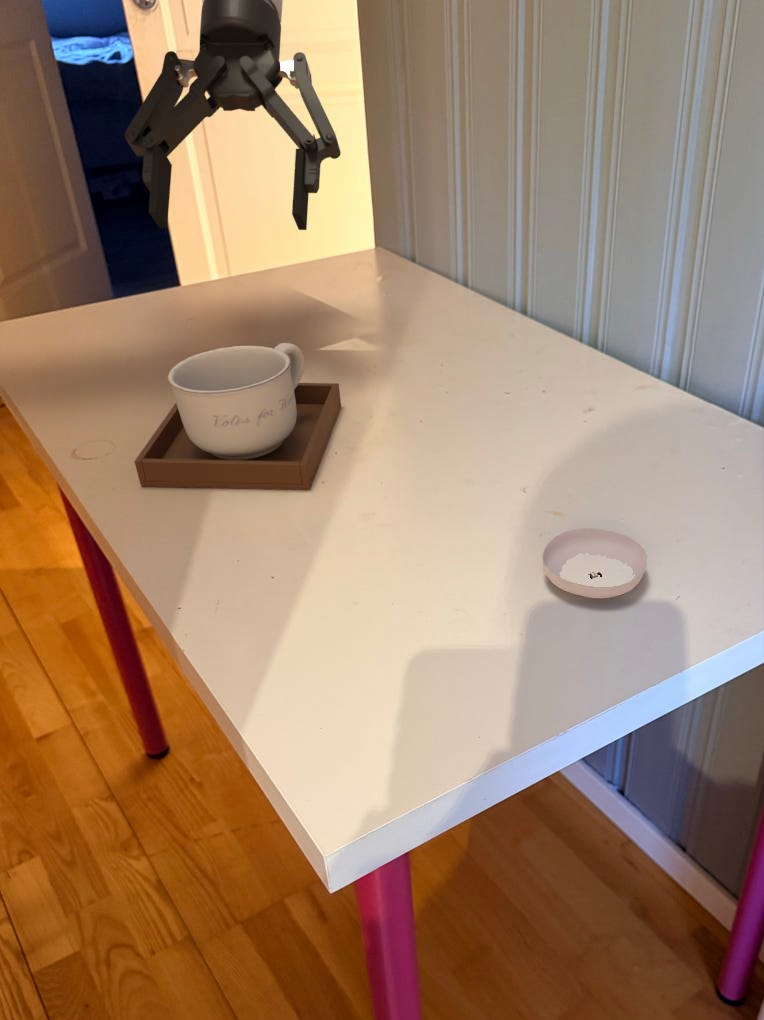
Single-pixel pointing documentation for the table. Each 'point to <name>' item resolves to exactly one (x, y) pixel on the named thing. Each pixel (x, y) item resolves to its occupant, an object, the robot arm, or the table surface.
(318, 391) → the tray
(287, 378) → the teacup
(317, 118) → the robot arm
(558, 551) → the shallow pink dish
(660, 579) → the table surface
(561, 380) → the table surface
